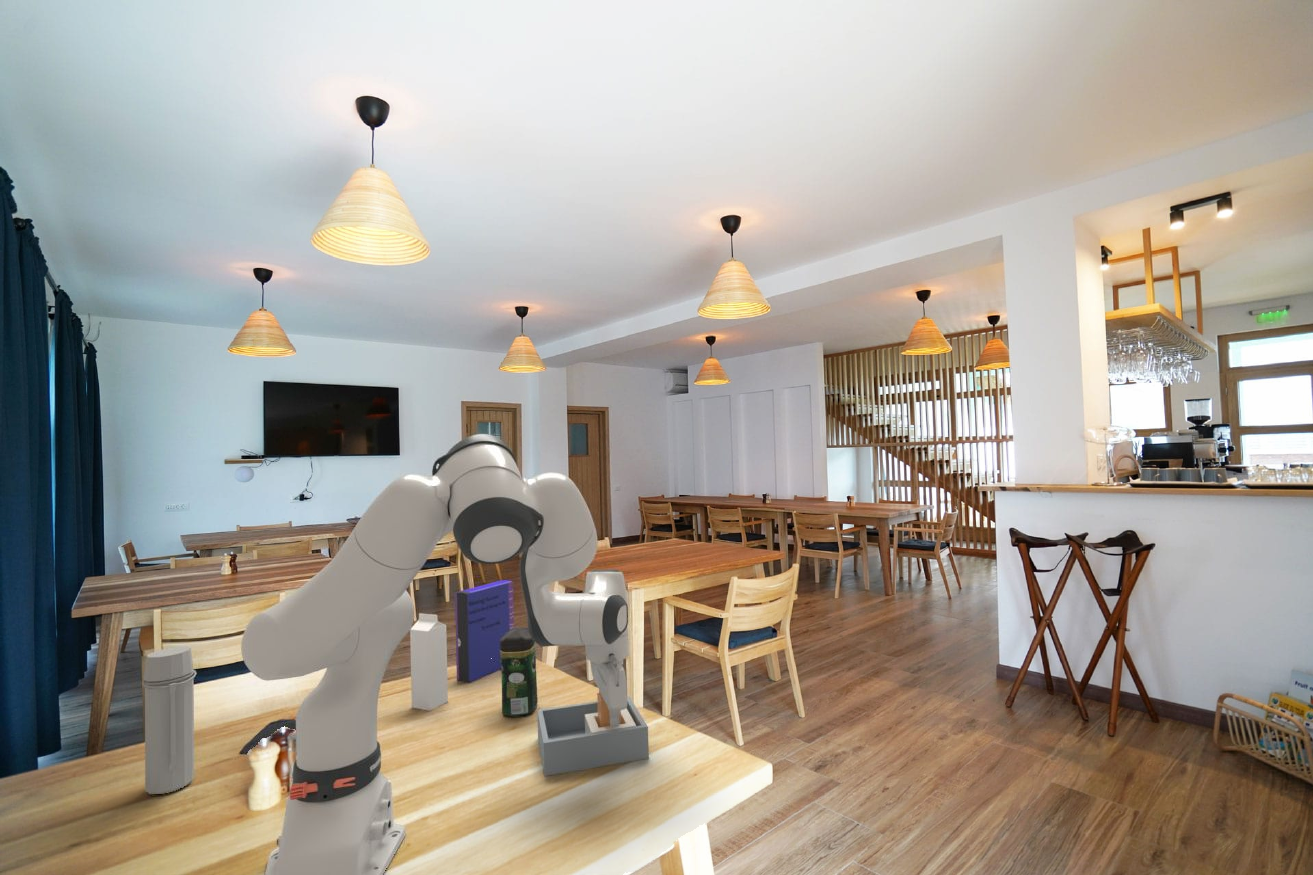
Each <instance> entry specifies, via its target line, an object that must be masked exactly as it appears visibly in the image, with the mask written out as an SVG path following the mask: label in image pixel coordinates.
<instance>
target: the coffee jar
mask: <svg viewBox="0 0 1313 875" xmlns="http://www.w3.org/2000/svg"><path fill="white" fill-rule="evenodd" d="M536 651H537V650H536V642H535V641H534V640H533V638H532V637H531V636H530V634H529V631H528V626H526V627H514V628H513V629H512V630H510V631H509V632H507V633H506V634H505V635H504V636H503V637H502V638H501V640H500V655H501V672H500V673H501V712H502V714H503V715H504V716H508V717H512V718H514V717H517V718H519V717H522V716H525V715H530V714H532V713H533V712H534V711H535V709H536V707H537V706H538V684H537V683H538V682H537V680H538V679H537V660H536V659H537V657H536V654H537V653H536Z"/></svg>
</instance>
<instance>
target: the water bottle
mask: <svg viewBox="0 0 1313 875" xmlns="http://www.w3.org/2000/svg"><path fill="white" fill-rule="evenodd" d="M196 675H197V671H196V669H194V663H193V656H192V649H191V647H190V646H175V647H168V648H164V649H159V650H156V651H152V652H150V653H148V654H147V655H146V658H145V665H144V674H143V681H141V684H142V686H143V687H144V754H145V756H144V776H145V777H144V780H145V781H144V786H145V787H144V789H145V790H144V791H145V792H146V793H147V792H148V793H147V794H149V795H151V794H163V795H165V794H164V793H167V792H172V793H174V792H177V791H178V789H179V790H181V789H180V788H182V789H183V788H185V787H187V786H188V785H189V784H190V783H191V782H192V781H193V779H194V777H195V715H194V714H195V711H194V710H195V706H194V705H195V703H194V702H195V701H194V700H195V697H194V696H195V693H194V690H195V689H194V688H195V687H194V684H195V683H194V679H195V678H196ZM184 786H185V787H184ZM176 790H177V791H176ZM173 791H174V792H173Z"/></svg>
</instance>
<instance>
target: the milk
mask: <svg viewBox="0 0 1313 875" xmlns="http://www.w3.org/2000/svg"><path fill="white" fill-rule="evenodd" d="M409 635H410V638H409V639H410V640H409V641H410V686H411V689H410V690H411V691H410V692H411V695H410V696H411V708H412V709H418V710H423V711H429V712H431V711H433V710H434V709H436V708H438V707H440V706H442V705H444V704H446V703H448V702H449V694H448V693H449V691H448V690H449V689H448V685H449V684H448V651H447V650H448V649H447V648H448V646H447V642H448V641H447V640H448V639H447V625H446V623H443V622H440V621H439V620H438V614H433V613H430V614H429V613H421V612H420V613H418V620H417V621H416V622H415V623H414V625H412V627H411V629H410V631H409Z"/></svg>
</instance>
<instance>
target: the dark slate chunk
mask: <svg viewBox="0 0 1313 875" xmlns="http://www.w3.org/2000/svg"><path fill="white" fill-rule="evenodd" d="M284 726H285V727H288V728H290V729H295V730H296V718H295V719H290V718H287V719H285V718H282V719H277V720H274V721H271V722H269V723H268V724H267V725H265V726H264V727H263V728H262V729H260V731H259V732H258V733H256V734H255V735H254V736H253V737H252V738H251V739H250V741H248V742H247V743H246V744H245V745H244V746H243V747H242V748H241V750H240V751H239V755H246V756H248V755H247V753H248V751H249V750H250V749H252V748H253V747H255V746H256V745H258V742H260V740H261V739H262V738H267V737H269V736H271V734H273V733H274V732H275V731H277V729H280V728H281V727H284Z"/></svg>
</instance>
